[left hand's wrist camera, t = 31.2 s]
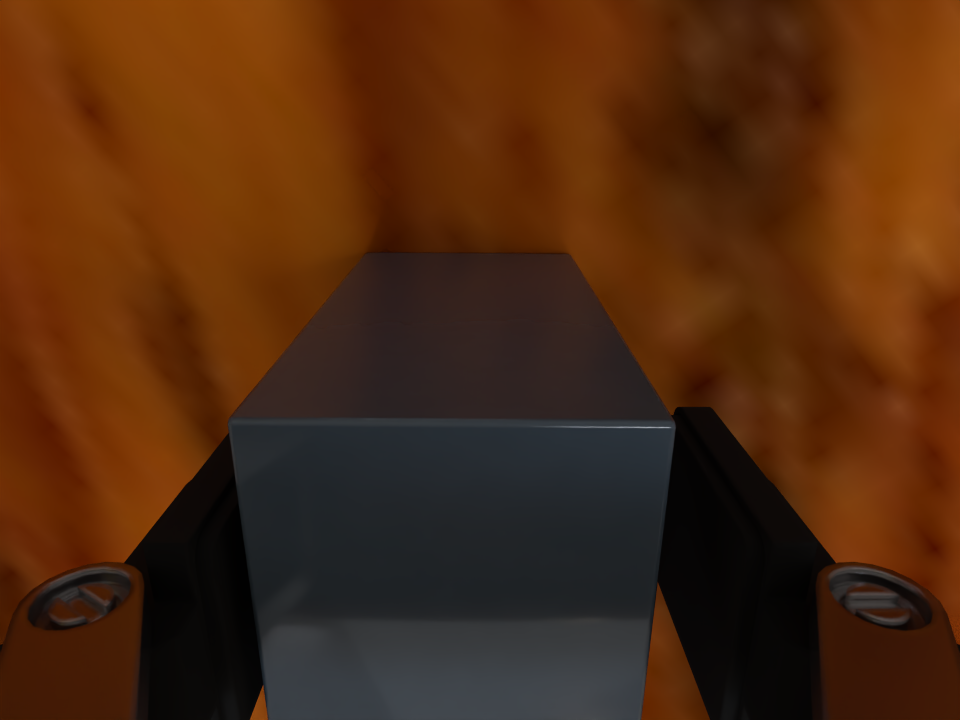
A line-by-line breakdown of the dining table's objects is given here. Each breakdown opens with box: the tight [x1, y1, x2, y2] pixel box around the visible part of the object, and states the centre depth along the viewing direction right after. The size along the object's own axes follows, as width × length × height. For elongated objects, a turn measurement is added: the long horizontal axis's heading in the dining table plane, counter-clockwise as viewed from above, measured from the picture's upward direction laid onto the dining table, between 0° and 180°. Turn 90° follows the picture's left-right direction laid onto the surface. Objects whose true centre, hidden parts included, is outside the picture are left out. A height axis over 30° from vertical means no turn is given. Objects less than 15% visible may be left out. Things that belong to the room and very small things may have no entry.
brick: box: [228, 253, 676, 720], centre depth 13 cm, size 5×6×9 cm
